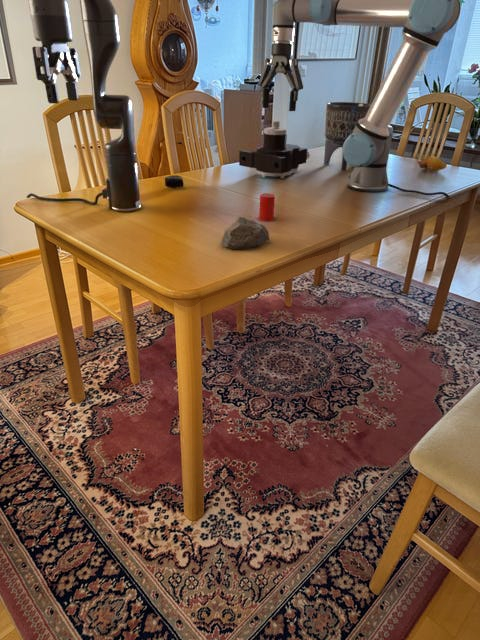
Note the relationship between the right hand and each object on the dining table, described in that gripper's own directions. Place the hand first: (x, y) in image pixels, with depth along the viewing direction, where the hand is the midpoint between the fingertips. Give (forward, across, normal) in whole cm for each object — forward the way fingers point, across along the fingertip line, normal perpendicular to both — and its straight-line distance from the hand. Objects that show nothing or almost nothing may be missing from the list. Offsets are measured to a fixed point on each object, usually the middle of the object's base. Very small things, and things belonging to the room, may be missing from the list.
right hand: (278, 109), depth 169 cm
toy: (+27, +29, +74) cm, 84 cm away
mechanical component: (+27, -9, +13) cm, 31 cm away
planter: (+27, -1, +46) cm, 53 cm away
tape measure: (+27, -17, -37) cm, 49 cm away
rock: (+27, +44, -57) cm, 77 cm away
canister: (+27, +32, -37) cm, 55 cm away
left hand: (-7, +18, -90) cm, 92 cm away
